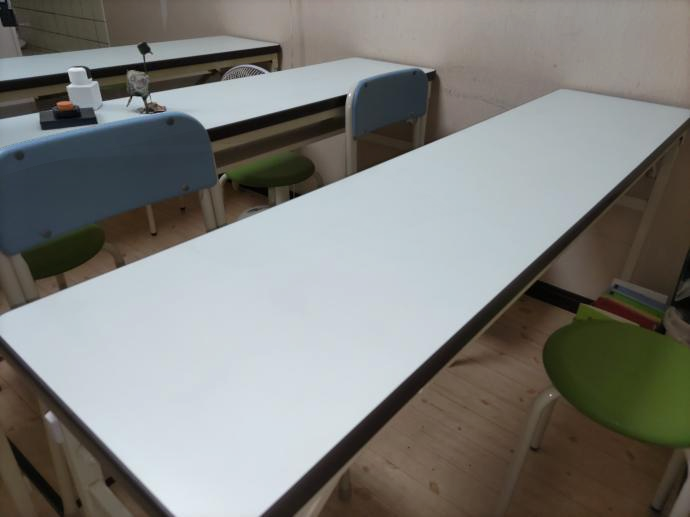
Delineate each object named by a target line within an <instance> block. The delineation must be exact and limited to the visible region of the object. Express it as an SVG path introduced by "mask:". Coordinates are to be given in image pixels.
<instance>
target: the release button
mask: <svg viewBox="0 0 690 517" xmlns="http://www.w3.org/2000/svg"><path fill="white" fill-rule="evenodd" d="M56 106H57V107H58V110H69V109H73V108H74V106H73V102H70V100H63V101H58V102H56Z"/></svg>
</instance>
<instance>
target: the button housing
mask: <svg viewBox="0 0 690 517" xmlns="http://www.w3.org/2000/svg"><path fill="white" fill-rule="evenodd" d="M73 106H74V108H73V109H69V110H58V107H57V105H55V106H52V108H51V109H52V110H42V111H38V117H39V125H40V128H41V129H40V130H42V131H45V130H56V129H65V128H74V127H83V126H93V125H98V123H99V122H98V119H97V118H98V117H97V115H96V112H95V110H93V107H89V108H80V107H79V106H78V105H73Z"/></svg>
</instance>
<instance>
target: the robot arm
mask: <svg viewBox="0 0 690 517" xmlns="http://www.w3.org/2000/svg"><path fill="white" fill-rule="evenodd" d="M0 22H1V26H2V27H3V28H16V27H18V22H17V18H16V15H15V11H14V8H12V3H11V1H10V0H0Z"/></svg>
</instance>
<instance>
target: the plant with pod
mask: <svg viewBox="0 0 690 517" xmlns="http://www.w3.org/2000/svg"><path fill="white" fill-rule="evenodd" d="M136 48H137V50H138V52H139V53H140V54H141V55H142V59H143V60H142V61H143V67H144V71H145V72H144V71H139V70H134V69H131V70H127V72H126V86H125V87H126V93H127V94H128V96H129V98H128V100H127V103H126V105H125V106H126V108H128V107H129V106H130V104H131V102H132V100H133V97H137V98H141V100H142V101H143V104H144V107H139V108H137V111H138V110H140V109H142V110H140V112H139V115H147V114H153V113H154V112H155V113H156V112H165V111H166V109H167V106H166V105H160V104H158V102H157V101H152V95H151V90H150V83H151V81H150V76H149V74H148V71H147V65H146V55H147V54H150V55H154V53H153V52H152V48H151V47H150V45H149V44H148V42H147V41H146V40H142V41H141V42H139V43H137V45H136ZM148 98H149V100H150V102H148ZM143 108H144V109H143ZM145 113H147V114H145Z"/></svg>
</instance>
